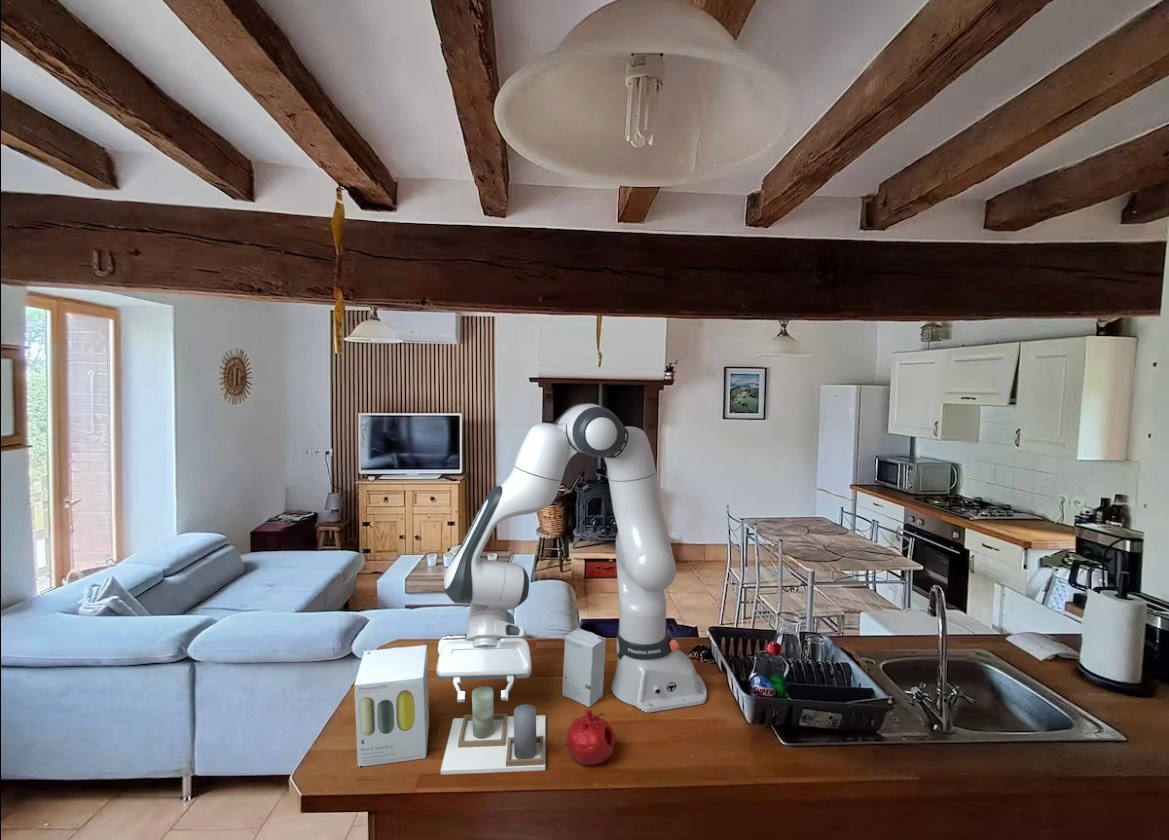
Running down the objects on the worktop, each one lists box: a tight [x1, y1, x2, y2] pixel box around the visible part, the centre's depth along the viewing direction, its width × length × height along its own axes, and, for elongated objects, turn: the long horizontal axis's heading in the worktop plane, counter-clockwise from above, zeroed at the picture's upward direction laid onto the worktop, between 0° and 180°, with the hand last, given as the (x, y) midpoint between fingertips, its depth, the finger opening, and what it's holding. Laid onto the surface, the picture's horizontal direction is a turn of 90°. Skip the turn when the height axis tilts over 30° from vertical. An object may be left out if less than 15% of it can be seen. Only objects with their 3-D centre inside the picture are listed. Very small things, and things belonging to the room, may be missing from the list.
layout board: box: [440, 703, 546, 776], centre depth 120 cm, size 20×16×10 cm
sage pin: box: [471, 685, 495, 739], centre depth 123 cm, size 4×4×9 cm
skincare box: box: [561, 627, 607, 708], centre depth 137 cm, size 8×6×15 cm
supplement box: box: [354, 644, 430, 768], centre depth 120 cm, size 13×13×18 cm
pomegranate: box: [565, 708, 616, 766], centre depth 117 cm, size 10×10×9 cm
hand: (482, 701), depth 122 cm, fingers open, 8 cm apart
